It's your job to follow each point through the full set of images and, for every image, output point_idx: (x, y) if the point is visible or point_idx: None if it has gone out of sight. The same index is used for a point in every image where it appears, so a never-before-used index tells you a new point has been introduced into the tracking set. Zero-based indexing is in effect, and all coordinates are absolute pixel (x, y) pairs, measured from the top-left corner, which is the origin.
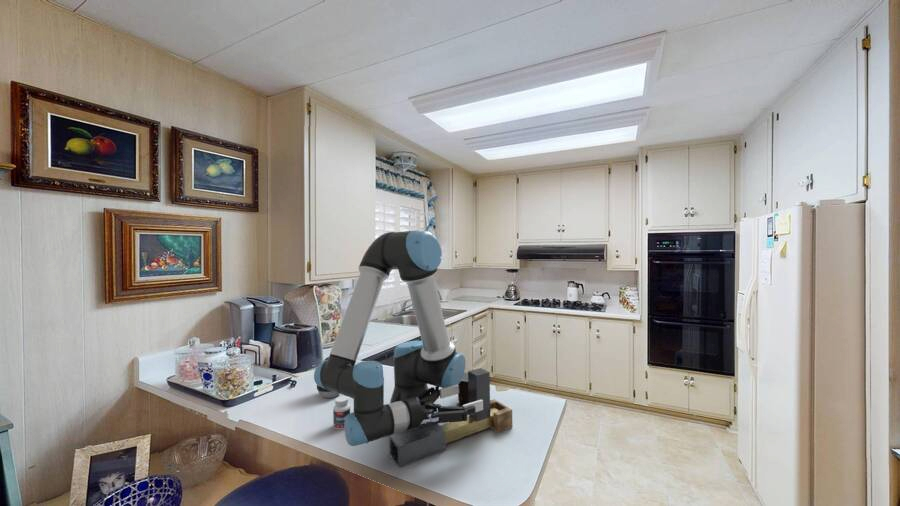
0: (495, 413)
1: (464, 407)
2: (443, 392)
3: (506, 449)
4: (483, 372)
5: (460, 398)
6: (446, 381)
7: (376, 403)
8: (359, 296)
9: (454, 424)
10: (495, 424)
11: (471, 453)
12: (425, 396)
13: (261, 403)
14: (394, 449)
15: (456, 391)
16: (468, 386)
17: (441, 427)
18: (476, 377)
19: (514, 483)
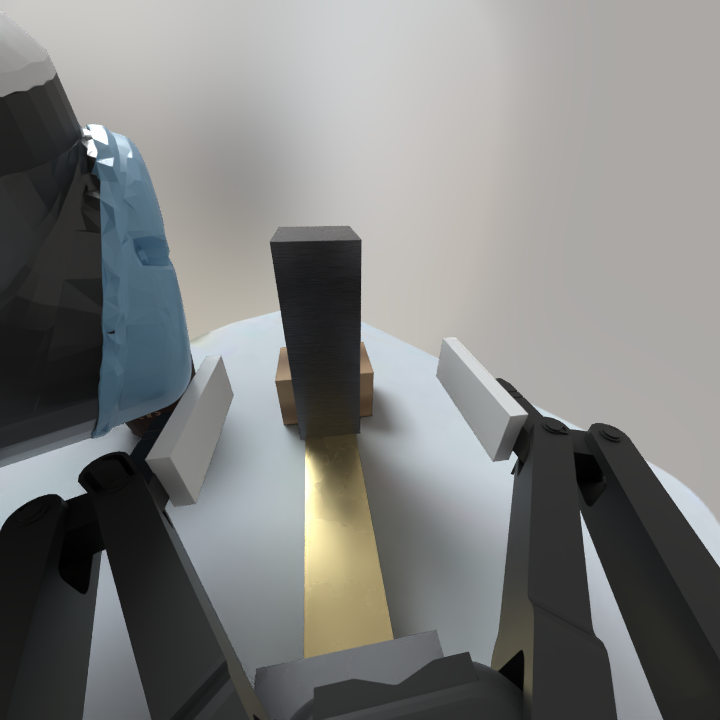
0: (362, 372)
1: (543, 419)
2: (189, 454)
3: (457, 431)
4: (337, 230)
5: (146, 416)
6: (157, 370)
7: None
8: None
9: (336, 526)
10: (362, 401)
11: (465, 538)
12: (45, 705)
13: None
14: None
15: (225, 391)
16: (285, 330)
17: (383, 641)
18: (360, 251)
19: None
